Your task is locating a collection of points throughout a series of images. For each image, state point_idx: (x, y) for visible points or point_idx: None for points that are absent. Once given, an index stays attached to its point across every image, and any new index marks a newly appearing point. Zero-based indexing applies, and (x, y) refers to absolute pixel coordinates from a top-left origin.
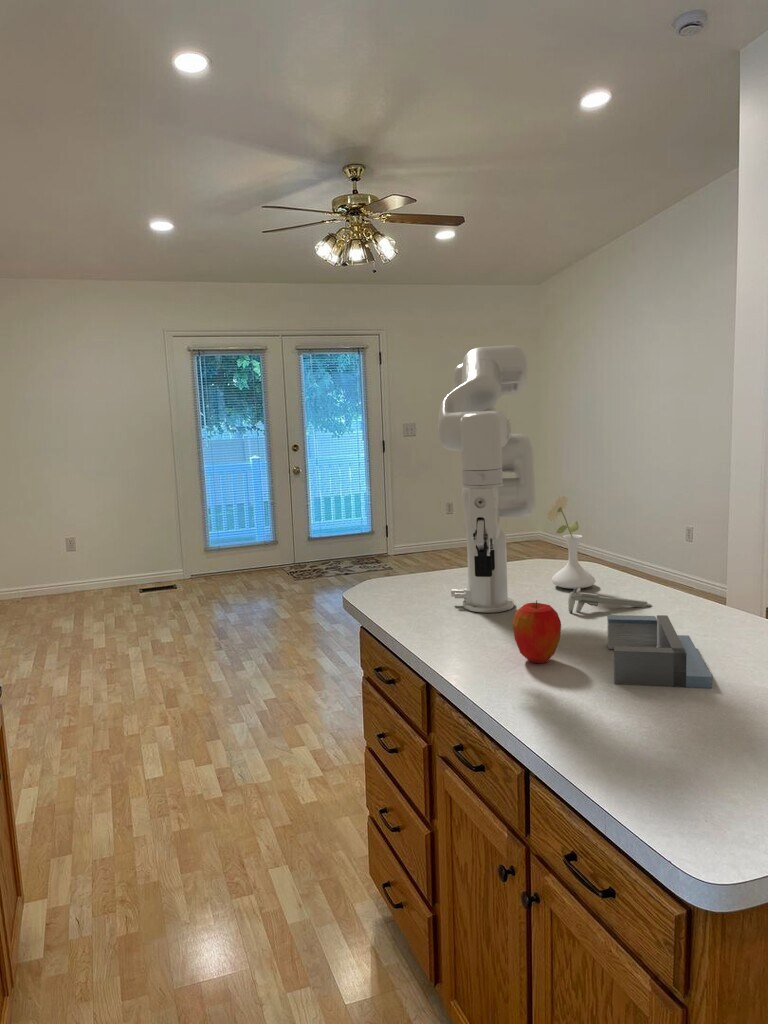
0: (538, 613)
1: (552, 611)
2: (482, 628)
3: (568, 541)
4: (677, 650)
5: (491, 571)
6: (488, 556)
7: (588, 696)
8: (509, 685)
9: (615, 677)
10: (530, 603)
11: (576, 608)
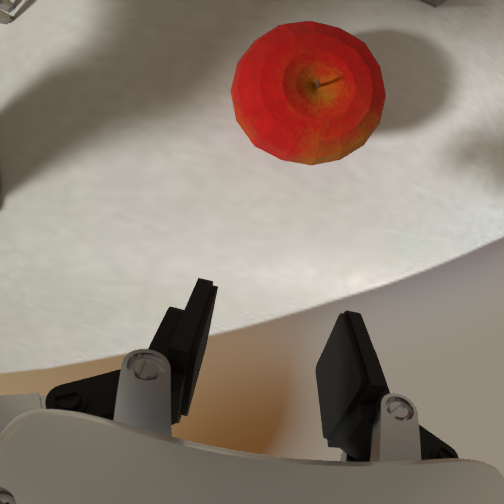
0: (374, 95)
1: (348, 41)
2: (73, 196)
3: None
4: None
5: (363, 327)
6: (396, 399)
7: (478, 74)
8: (420, 190)
9: (440, 3)
10: (286, 99)
11: (5, 10)
